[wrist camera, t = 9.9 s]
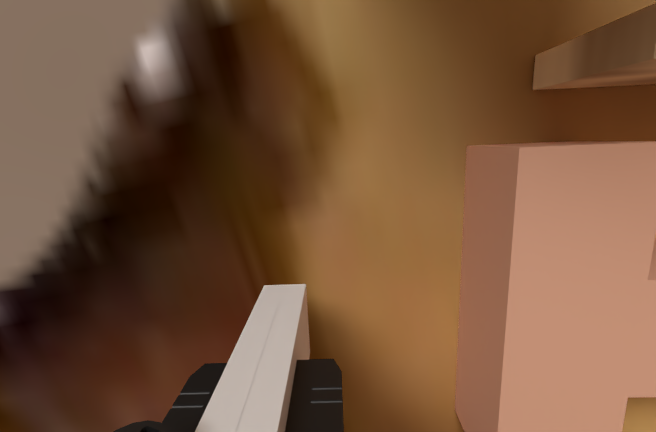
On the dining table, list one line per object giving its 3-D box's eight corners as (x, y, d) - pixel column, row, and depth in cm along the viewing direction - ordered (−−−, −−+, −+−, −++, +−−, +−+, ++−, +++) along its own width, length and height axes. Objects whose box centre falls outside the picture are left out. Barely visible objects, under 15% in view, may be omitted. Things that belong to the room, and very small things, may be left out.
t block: (454, 409, 16) (492, 497, 12) (466, 145, 13) (519, 147, 9) (725, 406, 15) (857, 497, 11) (792, 132, 13) (991, 128, 9)
